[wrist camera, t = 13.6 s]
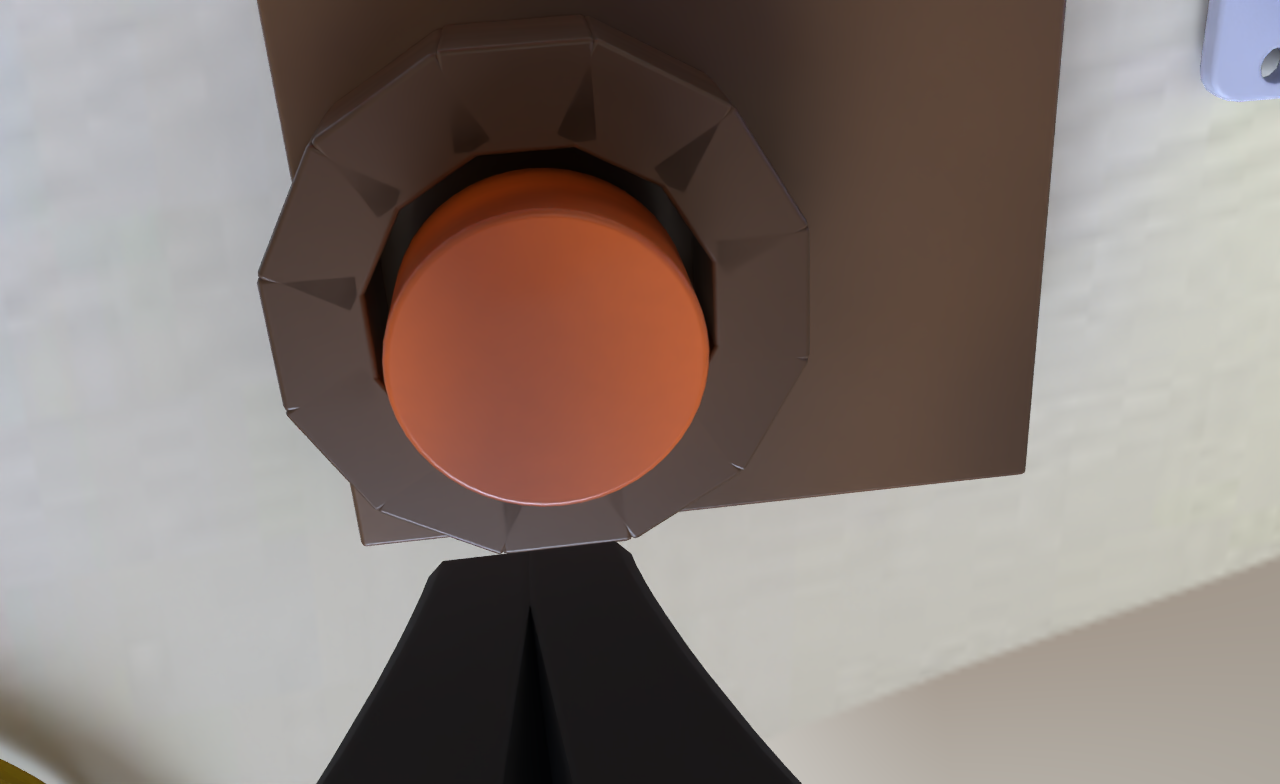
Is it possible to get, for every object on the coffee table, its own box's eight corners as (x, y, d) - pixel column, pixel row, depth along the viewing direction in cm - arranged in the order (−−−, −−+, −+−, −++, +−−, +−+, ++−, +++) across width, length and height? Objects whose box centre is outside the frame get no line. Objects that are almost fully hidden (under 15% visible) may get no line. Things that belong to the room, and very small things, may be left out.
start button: (681, 152, 14) (704, 194, 13) (694, 425, 16) (716, 491, 14) (371, 180, 14) (356, 226, 12) (416, 453, 15) (407, 525, 14)
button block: (1008, -101, 17) (1147, -79, 13) (975, 411, 20) (1077, 539, 17) (261, -45, 16) (193, -4, 12) (359, 476, 20) (328, 625, 16)
